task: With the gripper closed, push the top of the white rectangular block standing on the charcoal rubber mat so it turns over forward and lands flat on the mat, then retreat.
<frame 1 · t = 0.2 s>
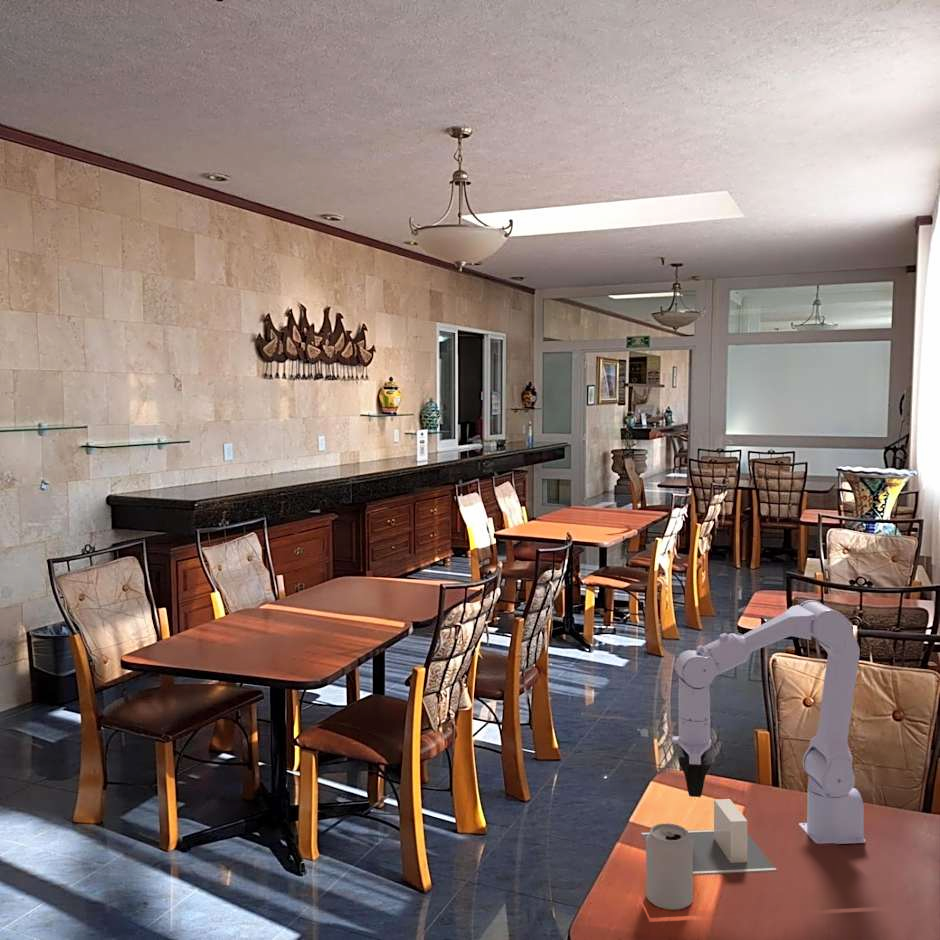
hand: (694, 787, 167), 10 cm above the table, fingers open, 7 cm apart
white rectangular block: (730, 849, 162), resting on mat
mat: (705, 853, 162), on the table
can: (669, 902, 147), on the table
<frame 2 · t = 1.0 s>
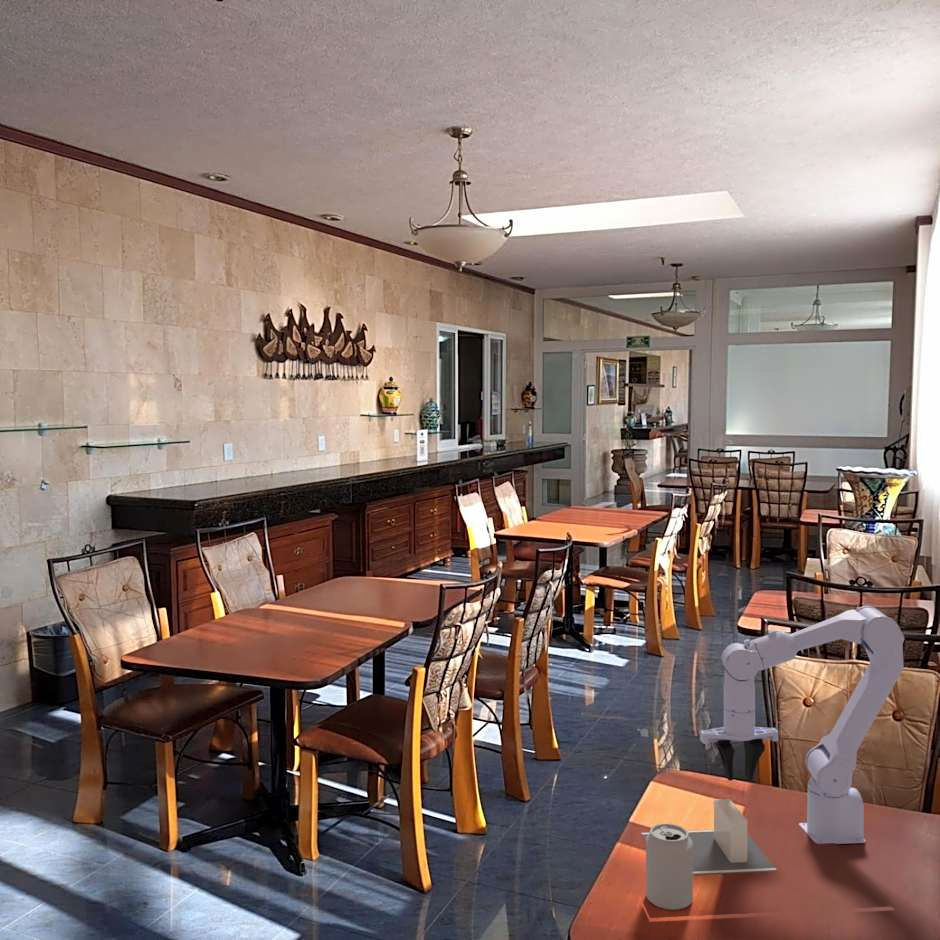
hand: (738, 778, 170), 10 cm above the table, fingers open, 3 cm apart
nothing on the table moved.
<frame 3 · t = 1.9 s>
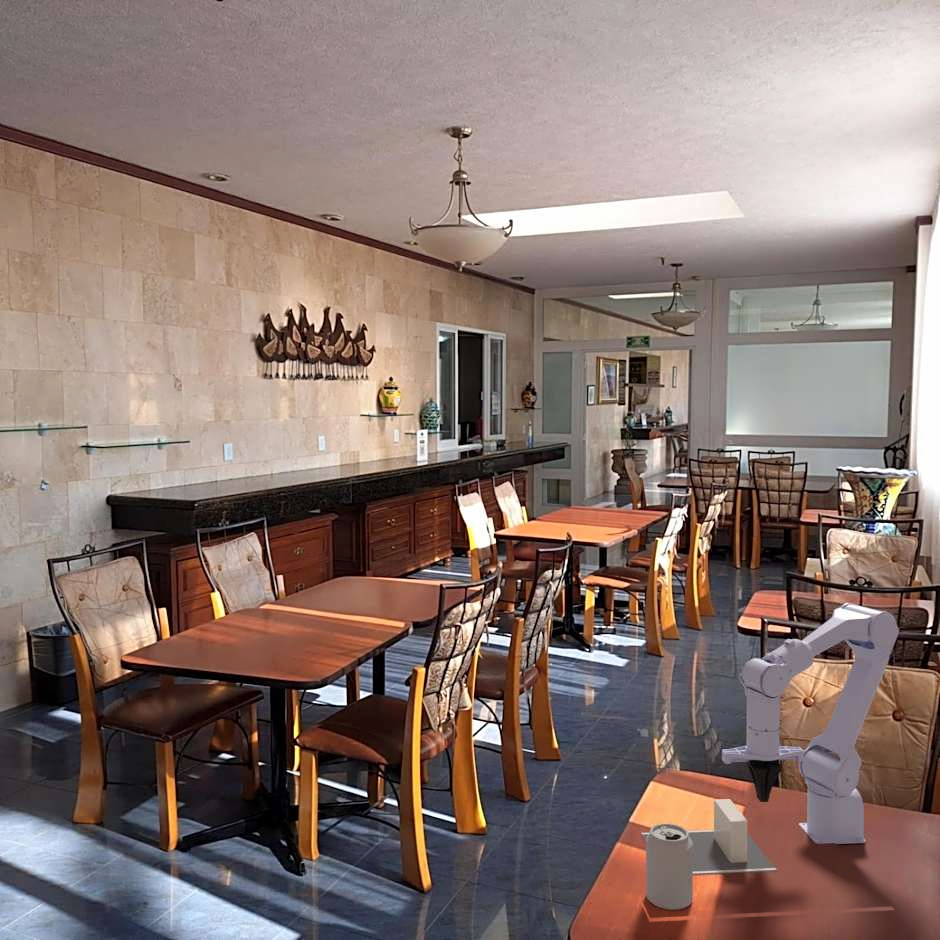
hand: (762, 799, 162), 10 cm above the table, fingers closed
nothing on the table moved.
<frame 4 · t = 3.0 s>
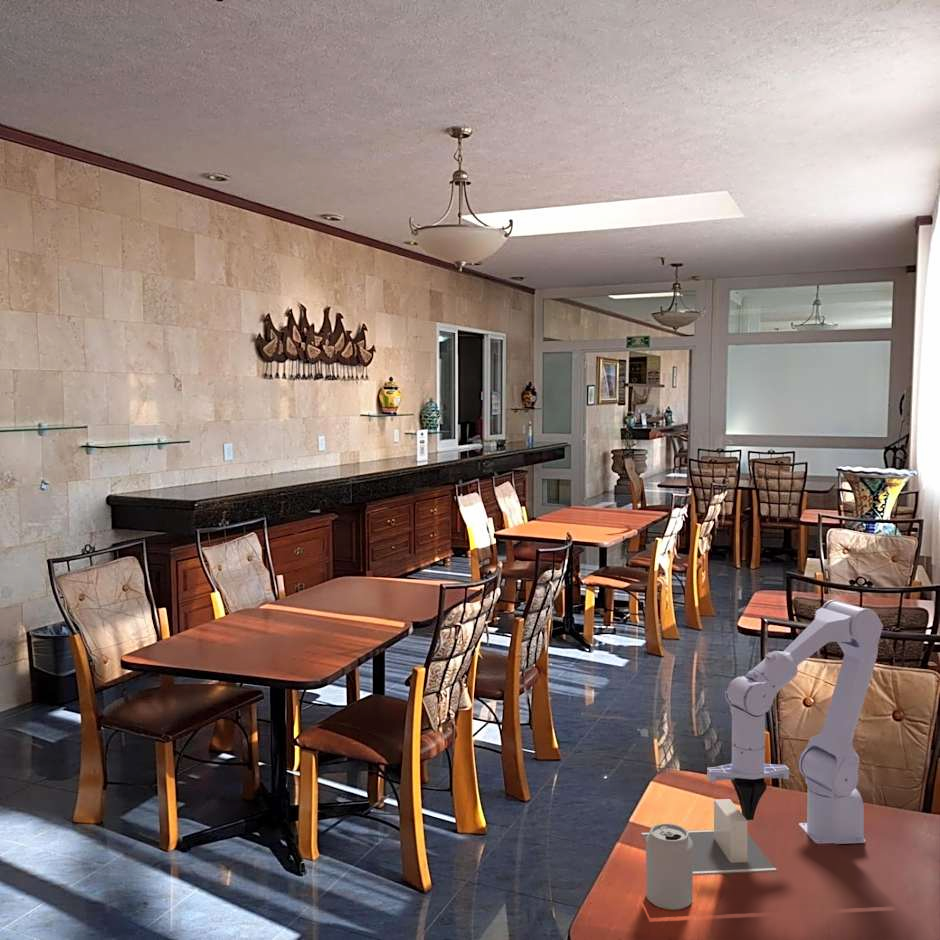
hand: (747, 817, 162), 6 cm above the table, fingers closed
nothing on the table moved.
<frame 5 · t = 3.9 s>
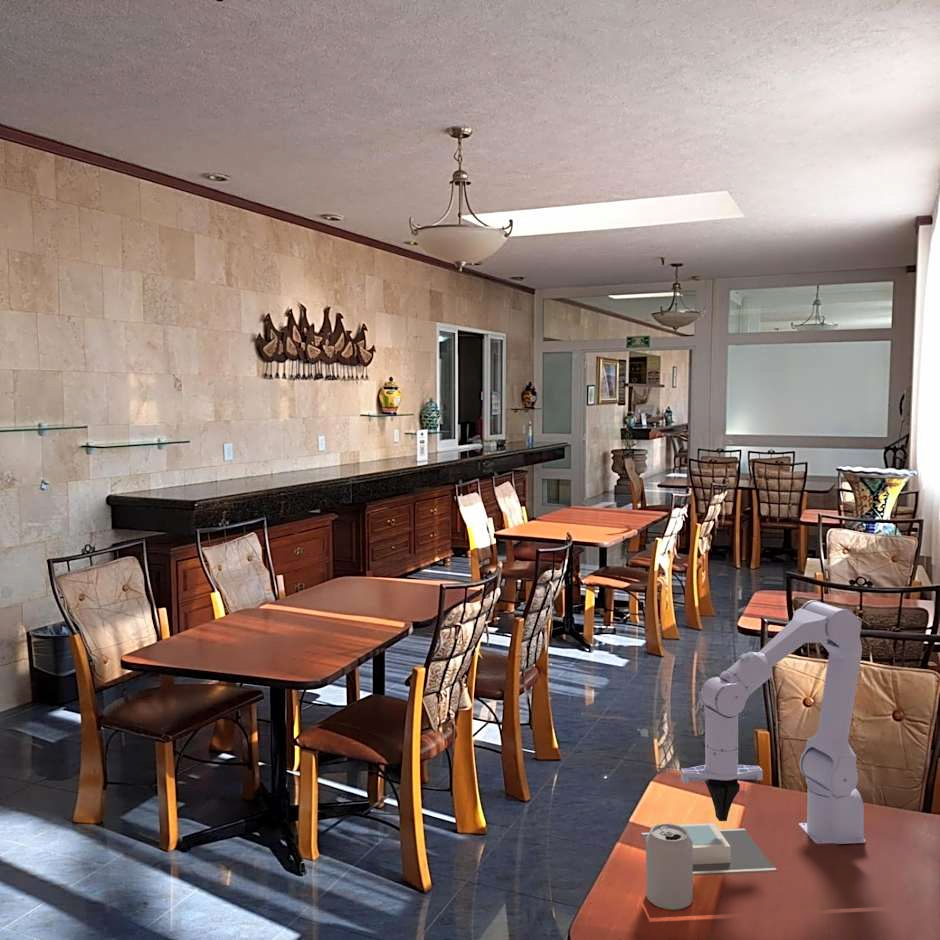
hand: (721, 818, 162), 6 cm above the table, fingers closed
white rectangular block: (721, 842, 162), point 2 cm above the table, tilted 90°, touching mat
everything else where it was.
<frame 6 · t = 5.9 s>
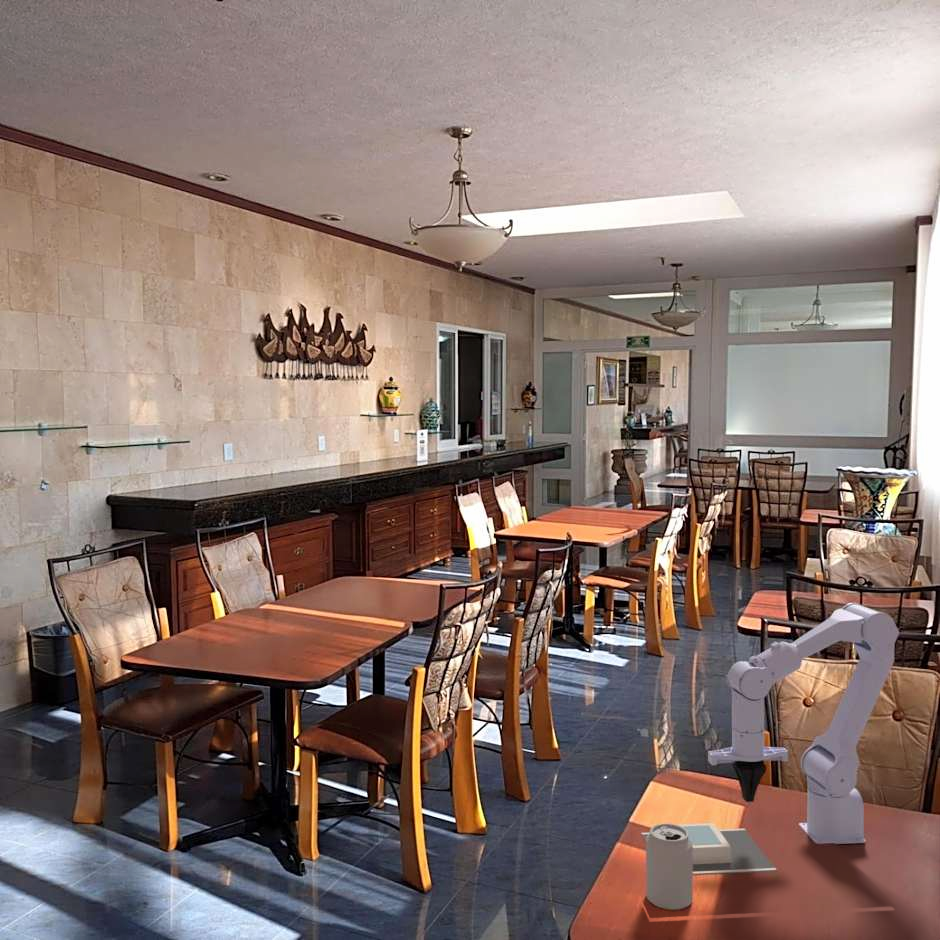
hand: (748, 799, 166), 8 cm above the table, fingers closed
nothing on the table moved.
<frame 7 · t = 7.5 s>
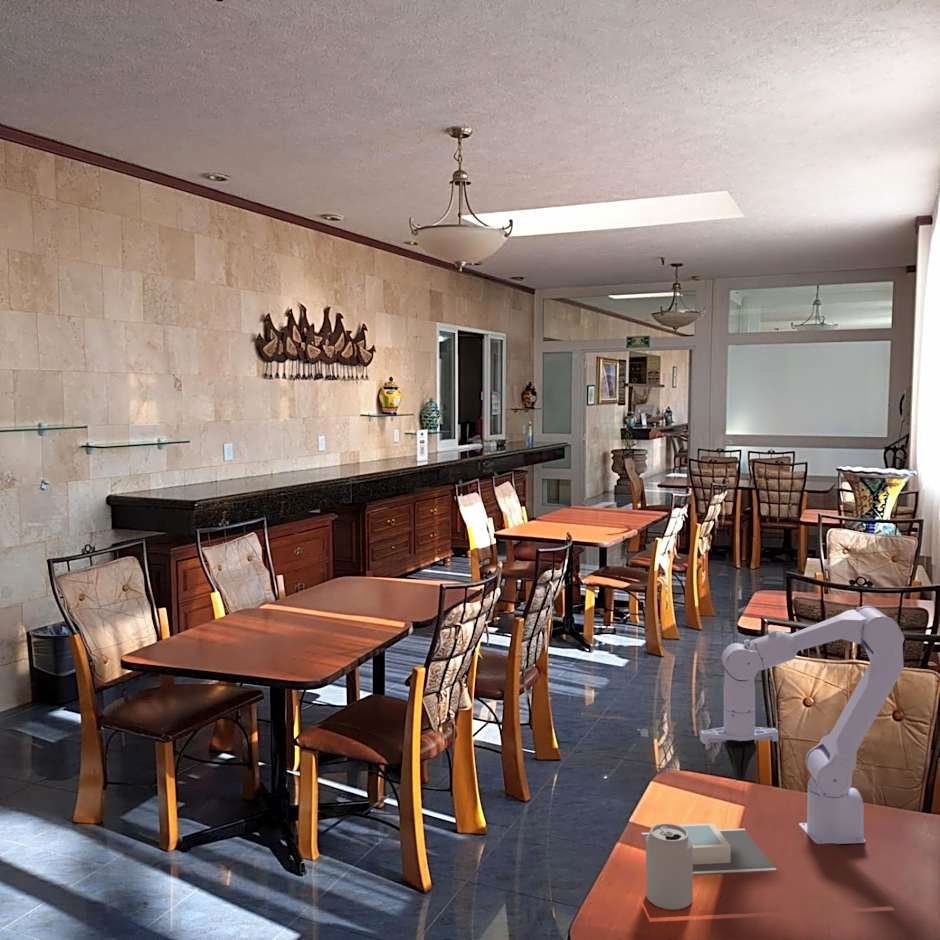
hand: (738, 778, 170), 10 cm above the table, fingers closed
nothing on the table moved.
at the end: white rectangular block tilted 90°; white rectangular block inside the target area (4.0 cm from its centre), point 2.0 cm above the table; the gripper is holding nothing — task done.
